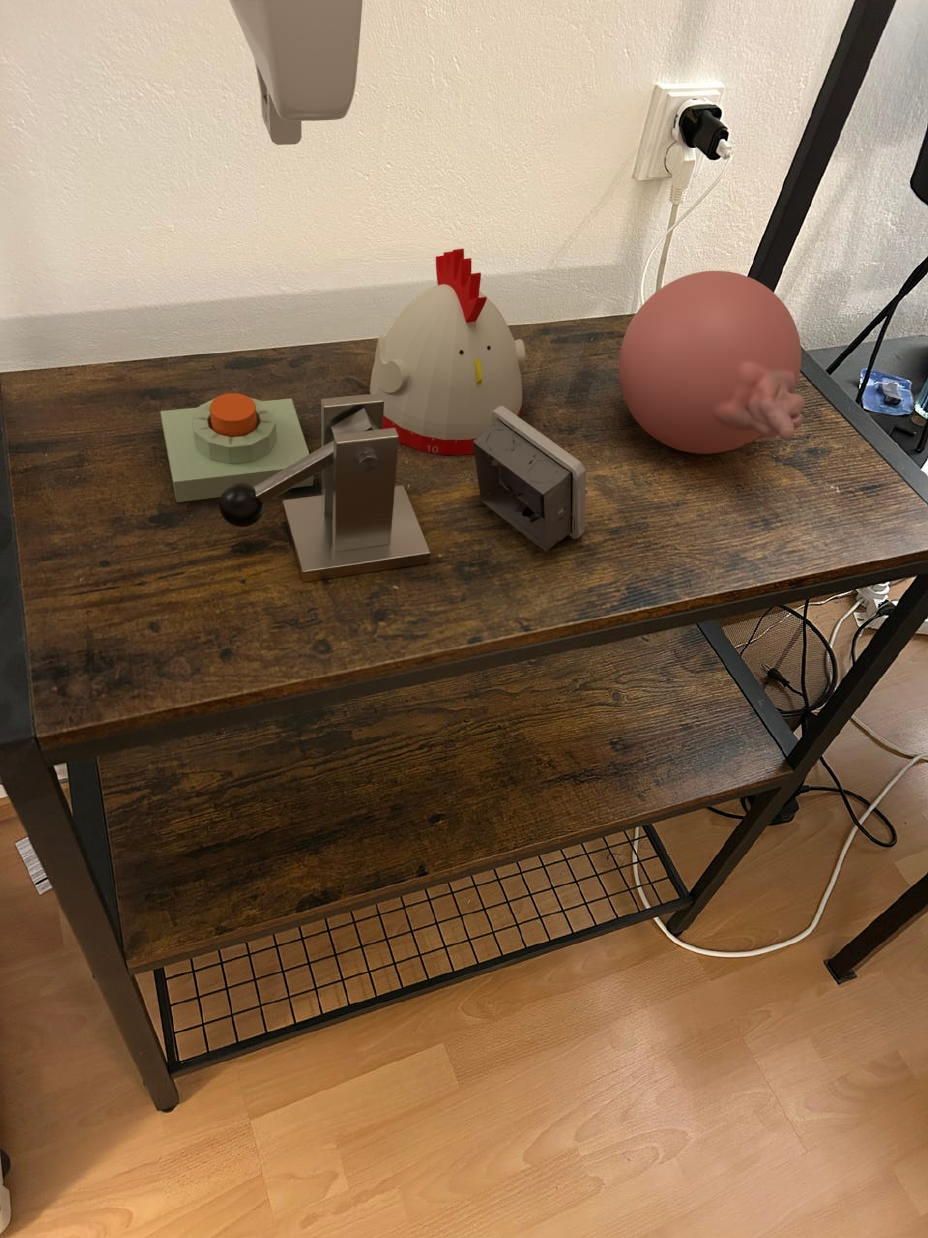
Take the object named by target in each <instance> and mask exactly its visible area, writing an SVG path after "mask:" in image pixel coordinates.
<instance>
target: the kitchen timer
mask: <svg viewBox="0 0 928 1238" xmlns="http://www.w3.org/2000/svg"><path fill="white" fill-rule="evenodd" d="M435 272H436V273H435V274H436V282H437V283H436V284H437V285H436V286H433V287H430V288H428V289H426V290H424V291H423V292H422V293H421V294H418V295H417V296H416V297H415V298H413V299H412V300H411V301H410V302H409V303H408V304H406V306H405V307H403V309H402V310H401V311H400V312H399V314H398V315H397V317H396V318H395V320H394V322H393V323H392V324H391V326H390V327H389V329H388V330H387V333H386V334H385V336H384V335H382V334H379V335H378V339H377V343H376V348H375V349H376V350H375V354H374V364H373V367H372V372H371V376H370V383H369V394H377V393H381V395H382V397H383V400H384V414H383V429H388V428H395V429H396V431H397V434H398V436H399V439H398V443H400V444H403V445H405V446H408V447H410V448H412V449H415V450H418V451H420V452H425V453H429V454H436V455H441V456H467V455H471V454H474V448H473V441H474V440H476V439H477V438H478V437H479V436H481V435H482V434H483V433H484V432H485V431H486V429H487V428H488V427H489V426H491V425H492V424H493V423H492V418H491V416H492V412H493V411H494V410H495V409H496V408H498V407H499V406H504V407H505V408H507V409H508V410H509V411H511V412H512V413H513V414H515V415H516V416H518V417H519V418H521V412H522V406H523V382H522V379H523V378H522V372H523V371H525V368H526V348H525V343H524V341H523V340H522V339H521V338H519V339H514V336H513V333H512V332H511V329H510V327H509V326H508V323H507V322H506V320H505V317H503V315H502V313H501V311H500V310H499V309H498V307H497V305H495V304H494V303H493V302H492V301H491V299H490V298H489V297H488V296H486V295H485V294H484V293H483V292H481V291H480V287H481V282H482V281H481V280H482V272H480V271H479V272H473V273H472V257H469V258H468V257H467V258H465V248H457V249H452V251H445V252H443V255H437V256H435Z"/></svg>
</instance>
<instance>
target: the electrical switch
mask: <svg viewBox="0 0 928 1238" xmlns="http://www.w3.org/2000/svg"><path fill="white" fill-rule="evenodd" d="M491 418H492V423H493V424H492V425H491V426H489V427H488V428H487V429H486V431H485V432H484V433H483V434H482V435H481V436H479V437H478V438H477V439H476V440H474V441H473V448H474V453H473V454H474V462H475V469H476V476H477V483H478V491H479V497H480V500H481V502H482V503H483V504H484V505H486V506H487V507H488V508H490V509H491V510H492V511H493V512H495V513H496V514H497V515H498V516H500V517H501V518H502V519H503V520H505V521H506V522H507V523H508V524H510V525H511V526H512V527H514V528H515V529H516V530H517V531H518V532H520V533H521V534H522V535H524V536H525V538H528V539H529V540H530V541H531V542H532V543H534V544H535V545H536V546H538V547H539V548H540V549H542V550H543V551H544V552H548V551H549V550H550V549H552V547H554V546H555V544H557V543H558V542H560V541H563V540H564V538H565V537H567V536H569V537H570V538H571V539H573V540H576V539H579V538H580V536H582V535H583V534H584V533H585V532H586V531H585V529H586V527H585V526H586V525H585V524H586V474H587V473H586V471H587V470H586V468H585V466H584V465H583V463H582V462H581V461H580V460H579V459H578V458H576V457H574V456H573V455H572V454H570V452H567V451H566V450H565V449H563V448H562V447H561V446H559V444H557V443H555V442H553V441H552V440H551V439H550V438H548V437H547V436H545V435H544V434H542V433H541V432H540V431H539V430H537V429H536V428H534V427H533V426H532V425H530V424H529V423H527V421H525V420H523V419H522V418H521V417H518V416H516V415H515V414H513V413H512V412H511V411H509V410H508V409H507V408H505V407H504V406H499V407H498V408H496V409H495V410H494V411H493V412H492V416H491ZM527 507H528V508H529V509H530V510H531V511H532V513H533V514H531V515H530V516H524V515H523V512H524V511H525V510H526V508H527Z"/></svg>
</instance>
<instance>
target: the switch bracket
mask: <svg viewBox="0 0 928 1238" xmlns="http://www.w3.org/2000/svg"><path fill="white" fill-rule="evenodd" d="M363 408H365V410H366V411H367V412H368V414H369V415H370V417H371V418H372V419H373V421H374V422H375V423H376V425H377V426H378V428H379V430H370V431H361V432H352V433H343V434H335V435H333V432H332V429H331V427H332V426H334V425H335V424H337V423H339V422H341V421H342V420H344V419H346V418H347V417H349V416H351V415H353V414H354V413H356V412H358V411H359V410H361V409H363ZM320 412H321V413H320V415H321V416H320V417H321V418H320V423H321V426H320V433H321V434H320V435H321V436H320V442H321V443H320V444H321V445H320V448H321V447H323V446H325V445H326V444H328V443H330V442H332V441H333V440H334V453H333V464H332V465H330V466H329V467H327V468H325V469H323V470H322V471H320V473H321V474H320V475H321V477H320V480H321V481H320V485H321V488H320V492H321V493H320V494H321V495H313V496H305V497H298V498H297V497H296V498H290V499H283V500H282V512H283V516H284V520H285V524H286V527H287V530H288V534H289V538H290V541H291V545H292V549H293V552H294V556H295V559H296V563H297V566H298V570H299V573H300V577H301V580H302V583H308V582H315V581H321V580H322V581H323V580H328V579H333V578H340V577H346V576H347V577H348V576H354V575H361V574H367V573H373V572H380V571H388V570H393V569H401V568H406V567H407V568H408V567H414V566H421V565H427V564H430V562H431V553H432V552H431V550H430V548H429V544H428V543H427V540H426V537H425V535H424V533H423V530H422V527H421V525H420V523H419V522H420V521H418V518H417V515H416V513H415V510H414V507H413V504H412V502H411V501H410V498H409V494H408V492H407V491H406V488H405V485H404V484H400V485H396V479H397V477H396V476H397V466H398V465H397V464H398V452H399V441H398V439H399V436H398V434H397V431H396V429H395V428H388V429H383V414H384V400H383V397H382V395H381V393H377V394H370V393H367V394H359V395H347V396H339V397H328V398H321V400H320Z"/></svg>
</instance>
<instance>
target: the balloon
mask: <svg viewBox="0 0 928 1238" xmlns="http://www.w3.org/2000/svg"><path fill="white" fill-rule="evenodd" d="M618 358H619V359H618V377H619V385H620V389H621V393H622V396H623V399H624V401H625V404H626V406H627V408H628V410H629V412H630V413H631V415H632V416H633V418H634V419H635V421H636V423H638V425H639V426H640V427H641V428H642V429H643V430H644V431H645V432H646V433H647V434H648V435H649V436H651V437H652V438H654V440H657V441H658V442H660V443H662V444H664V445H665V446H668V447H670V448H672V449H675V450H677V451H682V452H685V453H692V454H700V455H701V454H702V455H704V454H706V455H708V454H718V453H719V454H720V453H723V452H727V451H731V450H735V449H737V448H740V447H742V446H745V445H747V444H748V443H751V442H752V441H754V440H755V439H757V438H758V437H760V436H762V437H764V438H767V439H768V438H769V439H770V438H776V437H777V436H779V437H780V439H781V440H783V441H790V440H792V439H793V438H794V436H795V431H796V430H798V429H799V428H800V427H801V426H802V425H803V423H804V415H803V414H802V413H801V411H802V409H804V407H805V404H806V401H805V398H804V397H803V396H802V395H800V394H798V393H795V391H796V389H797V386H798V382H799V378H800V375H801V374H800V373H801V368H802V367H801V366H802V346H801V340H800V335H799V331H798V328H797V325H796V322H795V320H794V318H793V316H792V313H791V312H790V311H789V309H788V308H787V306H786V305H785V303H784V302H783V301H782V300H781V298H780V297H779V296H778V295H777V294H776V293H774V292H773V291H772V290H771V289H770V288H768V287H767V286H766V285H765V284H763V283H761V282H759V281H758V280H756V279H754V278H752V277H749V276H748V275H744V274H741V273H737V272H733V271H727V270H705V271H698V272H693V273H689V274H687V275H684V276H681V277H678V278H677V279H673V281H671V282H669V283H667V284H665V285H664V286H661V288H660V289H658V290H657V291H656V292H654V293H653V294H652V295H651V296H650V297H648V298H647V299H646V301H644V303H643V304H641V306H640V307H639V309H638V310H637V311H636V313H635V314H634V316H633V318H632V319H631V321H630V323H629V324H628V326H627V329H626V331H625V333H624V337H623V339H622V343H621V347H620V351H619V357H618Z"/></svg>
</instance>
